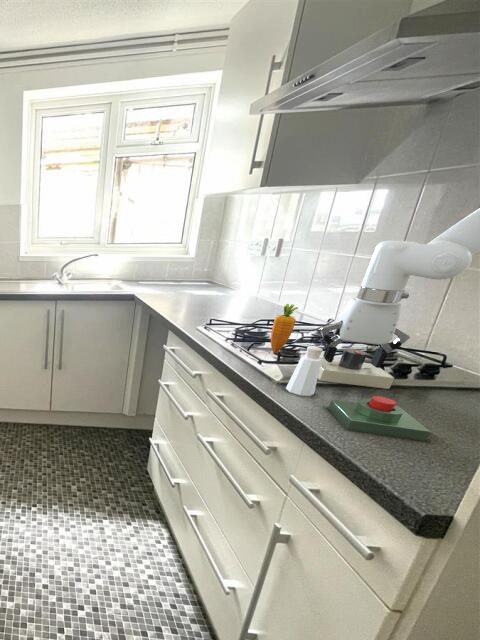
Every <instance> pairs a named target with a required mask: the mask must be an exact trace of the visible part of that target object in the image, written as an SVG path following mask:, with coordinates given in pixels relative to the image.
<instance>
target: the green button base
mask: <svg viewBox="0 0 480 640" xmlns="http://www.w3.org/2000/svg"><path fill="white" fill-rule="evenodd" d="M370 400H371V398H364V399H360V400H359V401H358V402H354V401H346V400H339V399H330V402H329V405H328V407H327V409H328V411H330V413H332V414H333V416H334V417H335V418H336V419H337V420H338V421H339V423H341V424H342V426H344V428H345V429H346V430H348V431H353V432H361V433H367V434H374V435H380V436H387V437H394V438H401V439H407V440H414V441H420V442H427V439H428V437H429V435H430V433H431V431H430V430H429V429H428V428H427V427H425V426H424V425H423V424H422V423H420V422H419V421H418V420H417V419H416V418H414V417H413V416H412V415H410V414H409V413H408V412H407V411H405V410H404V409H403V408H401V407H400V406H397V405H395V407H394V409H393V411H384V410H380V409H376V408H373V407H371V406H369V402H370Z"/></svg>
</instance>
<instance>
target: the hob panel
mask: <svg viewBox="0 0 480 640" xmlns="http://www.w3.org/2000/svg"><path fill="white" fill-rule="evenodd" d="M319 359H321V360H322V361H321V366H320V370H319V374H318V379H317V380H318V381H321V382H328V383H336V384H345V385H353V386H360V387H370V388H377V389H385V390H390V388H391V386H392V384H393V382H394V380H395V377H394V376H392V375H391V374H390V373H388V372H387V371H386V370H384V369H382V368H381V367H380V368H376V367H375V366H373V365H372V364H371V362H364V363H363V365H362V368H361V369H359V370H355V369H348V368H344V367H342V366H340V365H339V362H340V359H333V361H332V362H331V363H330V362H327V361H326V360H325V359H324V357H319Z"/></svg>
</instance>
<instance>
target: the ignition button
mask: <svg viewBox="0 0 480 640" xmlns="http://www.w3.org/2000/svg"><path fill="white" fill-rule="evenodd" d="M370 399H371V400H370V402H369V406H371V407H373V408H376V409H380V410H384V411H393V409H394V407H395V406H397V402H396V401H395V400H393V399H391V398H388V397H384V396H378V395H375V396H371V398H370Z"/></svg>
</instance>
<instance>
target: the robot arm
mask: <svg viewBox="0 0 480 640" xmlns="http://www.w3.org/2000/svg"><path fill="white" fill-rule="evenodd" d="M479 252H480V207H479V208H477V209H476V210H474V211H473V212H471V213H470V214H468V215H467V216H466V217H464V218H462V219H460V220H459V221H458V222H457V223H454V225H452V226H451V227H449V228H447V229H446V230H445V231H443V232H442V233H440V234H439V235H437V236H436V237H435V238H433V239H432V240H431V241H429V242H428V243H419V242H416V241H410V240H398V239H397V240H395V239H394V240H393V239H392V240H391V239H389V240H383V241H381V242H380V241H379V243H377V245H376V246H375V248H374V251H373V253H372V256H371V257H370V258H371V259H370V261H369V264H368V266H367V269H366V271H365V274H364V276H363V279H362V281H361V284H360V287H359V289H358V292H357V295H356V297H355V298H350V299H349V301H348V303H347V304H346V306H345V307H344V309H343V311H342V312H341V315H340V316H339V319H338V321H337V322H334V323H330V324H327V325H324V326H321V327H319V333H320V335H321V338H322V340H323V341H324V342H325V344H326V347H325V351H324V353H323V358H324V359H325V360H326V361H327V362H330V363H331V362H332V361H333V359H334V358H335V356H336V354H337V350H338V347H337V346H339V345H340V344H341V343H343V342H350V343H361V344H371V345H378V347H379V348H376V350H375V352H374V354H373V356H372V359H371V361H370V363H371V364H372V365H373V366H375V367H376V368H381V366H382V365H384V363H385V361H386V359H387V356H388V354H391V353H392V352H393V351H394V350H396V349H398V348H400V347H401V346H402V345H403V344H404V343H406V342H407V341H408V340H410V339H411V335H409V334H407V333H405V332H404V331H402V330H400V329H398V328H397V326H398V323H399V319H400V314H401V310H402V309H401V308H402V304H401V303H400V302H401V300H403V299H408V298H409V297H410V292H406V291H405V289H406V286H407V283H408V281H409V280H410V277H411V276H414V277H420V278H424V279H431V280H447V279H448V280H449V279H452V278H455V277H457V276H459V275H461V274H462V273H464V272H466V271H467V270H468V268H469V267H470V266H471V264H472V261H473V255H475V254H476V253H479ZM331 331H333V336H330V332H331ZM394 336H396V339H394V340H393V341H392V339H393V337H394ZM334 360H335V359H334Z"/></svg>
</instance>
